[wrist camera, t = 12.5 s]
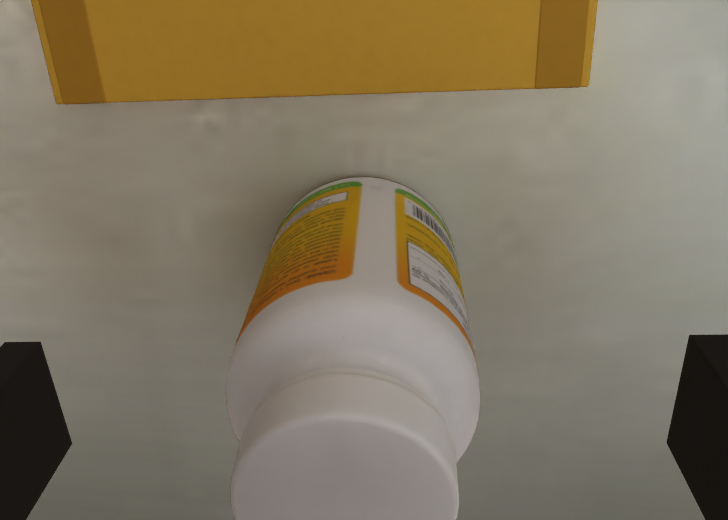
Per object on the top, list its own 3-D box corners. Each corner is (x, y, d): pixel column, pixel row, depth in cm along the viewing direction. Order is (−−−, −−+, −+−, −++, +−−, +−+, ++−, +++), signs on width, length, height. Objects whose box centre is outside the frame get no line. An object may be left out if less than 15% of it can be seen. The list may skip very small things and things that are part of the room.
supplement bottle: (264, 318, 21) (177, 589, 13) (286, 156, 19) (197, 354, 10) (432, 347, 22) (458, 632, 13) (474, 190, 19) (542, 412, 11)
